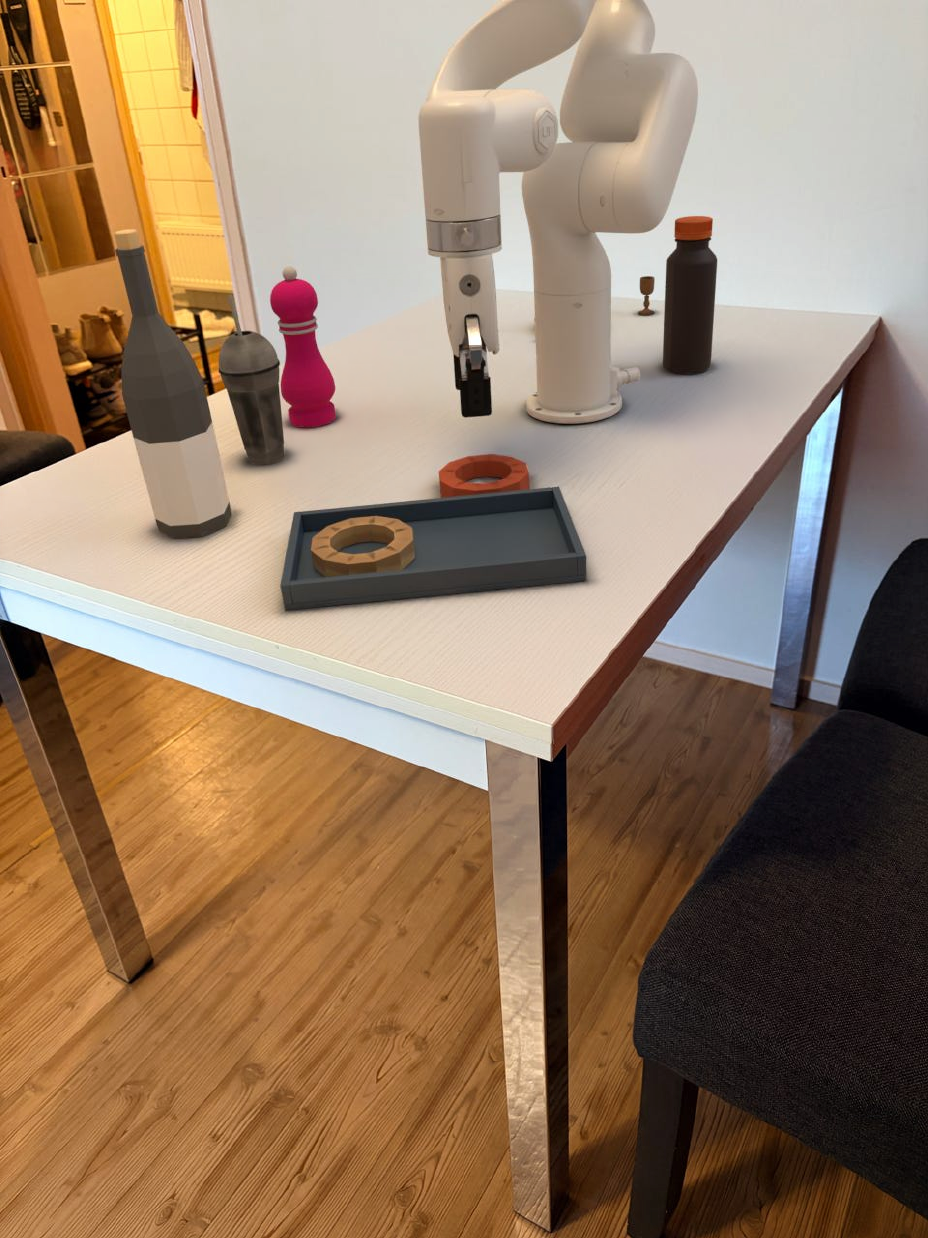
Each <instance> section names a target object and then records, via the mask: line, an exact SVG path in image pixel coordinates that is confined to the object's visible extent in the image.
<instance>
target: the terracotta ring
mask: <svg viewBox="0 0 928 1238" xmlns="http://www.w3.org/2000/svg"><path fill="white" fill-rule="evenodd" d="M484 477H485V478H486V477H493V478H501V479H499V480H495V481H490V482H480V483H479V482H469V480H472V479H474V478H475V479H476V478H484ZM438 479H439V489H440V491H439V492H440V498H446V497H456V496H466V495H477V494H487V493H497V492H508V491H518V490H528V489H530V471H529V469H528V465H527V463H526V462H525V461H523V460H520V459H518V458H516V457H514V456H511V455H502V454H494V453H488V454H478V455H468V456H465V457H461V458H458V459H455V460H452V461H450V462H448V463H447V464H446V465H444V466H443V467H442V468H441V469H440V470H438Z"/></svg>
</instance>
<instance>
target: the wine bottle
mask: <svg viewBox="0 0 928 1238" xmlns="http://www.w3.org/2000/svg"><path fill="white" fill-rule="evenodd" d="M113 235H114V240H115V244H116V249H115V248H114V252H115V255H116V257H117V259H118V260H117V261H118V264H119V268H120V272H121V276H122V280H123V284H124V287H125V292H126V296H127V301H128V304H129V308H130V312H131V316H132V317H131V321H130V325H129V331H128V333H127V337H126V340H125V344H124V348H123V352H122V360H121V361H122V363H121V372H120V377H121V379H120V380H121V381H120V382H121V396H122V400H123V403H124V408H125V412H126V415H127V418H128V419H127V420H128V422H129V426H130V430H131V434H132V438H133V442H134V446H135V449H136V453H137V457H138V460H139V464H140V467H141V472H142V476H143V480H144V483H145V486H146V490H147V494H148V498H149V501H150V505H151V510H152V513H153V517H154V520H155V523H156V526H157V529H158V531H159V532H160V533H162V534H164V535H166V536H168V537H170V538H172V539H174V540H176V539H187V538H189V539H190V538H203V537H205V536H207V535H210V534H213V533H214V532H216V531H219V530H221V529H223V528H225V527H227V525H228V523H229V520H230V519H231V516H232V505H231V501H230V496H229V492H228V488H227V483H226V479H225V475H224V469H223V465H222V461H221V455H220V450H219V447H218V442H217V439H216V437H217V436H216V432H215V428H214V424H213V419H212V415H211V410H210V405H209V400H208V396H207V391H206V387H205V383H204V379H203V376H202V374H201V372H200V369H199V367H198V365H197V363H196V361H195V359H194V358H193V356H192V354H191V353H190V351H189V350H188V347H187V346H186V344H185V343H184V341H183V340H182V339H181V338H180V337H179V335H178V334H177V333H176V332H175V330H174V329H173V328H172V327H171V326H170V325H169V323H167V321H166V320H165V318H163V316H162V315H161V314H160V312H159V309H158V306H157V301H156V297H155V292H154V289H153V284H152V279H151V276H150V271H149V267H148V262H147V258H146V254H145V253H146V249H145V246H144V245H142V244H141V242H140V237H139V233H138V230H137V229H133V228H128V229H121V230H117V231H115V232H114V233H113Z"/></svg>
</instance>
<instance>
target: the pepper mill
mask: <svg viewBox="0 0 928 1238" xmlns="http://www.w3.org/2000/svg"><path fill="white" fill-rule="evenodd" d="M297 276H298V272H297V270H296V269H295V268H294V267H293V266H289V265H288V266H285V267H284V268H283V270H282V277H283V279H284V280H283V279H282V280H281V281H279V282H278V283H276V284H275V285H274V286H273V287H272V290H271V292H270V297H269V303H270V308H271V311H272V312H273V313H274V315H276V316H277V317H278V318H279V319H278V321H277V325H278V327H279V328H278V332H279V333H280V334H282V336H283V339H284V345H285V346H284V348H285V361H284V364H283V365H284V366H283V370H282V373H281V377H280V395H281V397H282V399H283V400H284V401H285V402H286V403H287V404H288V405H290V406H289V408H288V411H287V412H288V418H289V422H290V424H291V425H292V426H294V427H297V428H306V429H307V428H317V427H322V426H326V425H327V424H330V423H332V422H333V421H334V420H336V417H337V414H336V407H335V404H334V403H333V401H331V400H332V398H333V396H334V395H335V392H336V383H335V378H334V376H333V374H332V372H331V370H330V368H329V366H328V365H327V363H326V361H325V359H324V358H323V356H322V354H321V352H320V350H319V347H318V343H317V338H316V337H317V336H316V330H317V329H318V327H319V325H318V323H317V319H318V318H317V317H316V316H315V315H314V314H315V312H316V310H317V308H318V306H319V305H318V304H319V298H318V294H317V292H316V290H315V287H314V286H313V285H312V284H311V283H310V282H308V281H307V280H305V279H302V278H297Z"/></svg>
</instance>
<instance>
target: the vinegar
mask: <svg viewBox="0 0 928 1238" xmlns="http://www.w3.org/2000/svg"><path fill="white" fill-rule="evenodd" d="M713 221H714V219H713V217H711V216H706V215H704V216H703V215H690V216H683V217H679V218H675V220H674V242H676V247H675V249H674V250H673V251H672V252H671V253H670V254H669V256H668V257H667V258H666V263H665V290H664V294H665V295H664V316H663V319H664V320H663V339H662V340H663V342H662V368H663V369H664V371H666V372H668V373H671V374H677V375H693V374H694V375H695V374H700V373H703V372H706V371H707V370H709V369H710V367H712V366H711V365H712V353H713V352H712V351H713V339H714V338H713V335H714V323H715V322H714V321H715V304H716V290H717V272H718V257H717V255H716V253H714V251H713V250H712V249H711V248H710V241H711V240H712V237H713V223H714V222H713Z"/></svg>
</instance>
